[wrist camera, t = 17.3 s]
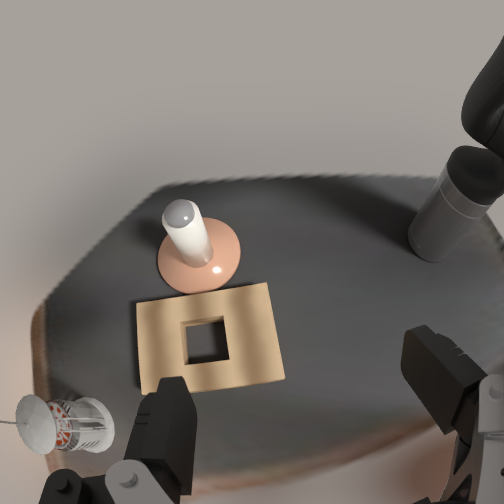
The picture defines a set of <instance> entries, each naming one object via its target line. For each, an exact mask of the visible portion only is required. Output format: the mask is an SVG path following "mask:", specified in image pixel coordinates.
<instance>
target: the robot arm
mask: <svg viewBox="0 0 504 504" xmlns="http://www.w3.org/2000/svg"><path fill="white" fill-rule="evenodd" d="M461 120H462V125H463V127H464V129H465V131H466V132H467V133H468V134H469V135H470V136H471V137H472V138H473V139H474V140H476V141H477V142H479V143H480V144H482V145H483V146H485V147H486V148H488V149H484V148H478V147H472V146H460V147H458V148H456V149H455V150H454V151H453V152H452V154H451V156H450V158H449V160H448V162H447V163H446V165H445V167H444V169H443V171H442V172H441V174H440V176H439V178H438V180H437V181H436V183H435V185H434V187H433V188H432V190H431V192H430V193H429V195H428V197H427V198H426V200H425V202H424V203H423V205H422V207H421V208H420V210H419V212H418V213H417V215H416V216H415V218H414V220H413V221H412V223H411V224H410V226H409V228H408V233H407V235H408V241H409V244H410V246H411V248H412V249H413V251H414V252H415V253H416V254H417V255H418V256H419V257H421V258H422V259H424V260H426V261H429V262H439V261H441V260H443V259H444V258H445V257H446V256H447V255H448V254H449V253H450V252H451V251H452V250H453V249H454V248H455V247H456V246H457V245H458V244H459V243H460V241H461V240H462V239H463V238H464V237H465V236H466V235H467V234H468V233H469V231H470V230H471V229H472V228H473V227H474V226H475V225H476V223H477V222H478V221H479V220H480V219H481V218H482V216H483V215H484V214H485V213H486V211H487V210H488V209H489V208H490V207H491V205H492V204H493V203H494V202H495V200H496V199H497V198H499V197H500V196H502V195H503V194H504V36H503V38H502V40H501V42H500V44H499V45H498V47H497V49H496V50H495V52H494V53H493V55H492V56H491V58H490V59H489V61H488V62H487V64H486V65H485V66H484V68H483V69H482V71H481V72H480V73H479V75H478V76H477V78H476V79H475V81H474V82H473V84H472V86H471V87H470V89H469V91H468V93H467V95H466V98H465V100H464V103H463V107H462V113H461ZM401 371H402V374H403V376H404V378H405V380H406V381H407V382H408V384H409V385H410V386H411V388H412V389H413V391H414V392H415V393H416V395H417V396H418V398H419V399H420V400H421V402H422V403H423V405H424V406H425V407H426V409H427V410H428V412H429V413H430V415H431V416H432V417H433V419H434V420H435V422H436V423H437V425H438V426H439V427H440V429H441V430H442V432H443V433H444V435H446V434H448V433H450V432H452V431H454V430H456V431H457V432H458V435H457V437H456V441H455V447H454V454H453V459H452V464H451V470H450V474H449V479H448V482H447V485H446V487H445V489H444V491H443V493H442V495H441V498H440V501H439V502H434V503H431V502H430V500H429V498H428V497H426V498H424V499H422V500H420V501H418V502H415V503H413V504H504V376H503V375H498V374H493V375H489V376H488V375H487V374H486V373H485V372H484V371H483V370H482V369H481V368H480V367H479V366H478V365H477V364H476V363H475V362H474V361H473V360H472V359H471V358H470V357H469V356H468V355H467V354H464V352H463V351H462V350H461V349H460V348H458V346H457V345H456V344H455V343H454V342H453V341H452V340H451V339H449V338H447V337H445V336H443V335H441V334H435V333H434V332H433V331H432V330H431V329H430V328H429V327H428V326H426V325H422V326H419V327H416V328H413V329H410V330H407V331H406V332H405V335H404V343H403V351H402V358H401ZM134 423H135V425H133V429H132V432H131V435H130V439H129V442H128V445H127V449H126V452H125V456H124V459H123V460H122V461H119V462H117V463H115V464H114V465H113V466H111V467H110V468H109V470H108V471H107V473H106V474H105V475H101V476H94V477H87V478H81V477H80V476H79V475H78V474H77V473H76V472H74V471H72V470H70V469H60V470H57V471H55V472H53V473H52V474H51V475H50V476H49V477H48V479H47V481H46V483H45V486H44V489H43V492H42V495H41V498H40V501H39V504H180V495H191V492H192V478H193V465H194V453H195V441H196V430H197V412H196V407H195V404H194V402H193V400H192V397H191V395H190V392H189V390H188V387H187V385H186V382H185V380H184V378H183V377H182V376H175V377H163V378H161V379H160V381H159V384H158V388H157V391H156V392H149V393H148V394H147V395H146V397H145V398H144V399H143V400H142V401H141V403H140V406H139V409H138V412H137V416H136V419H135V422H134Z"/></svg>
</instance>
